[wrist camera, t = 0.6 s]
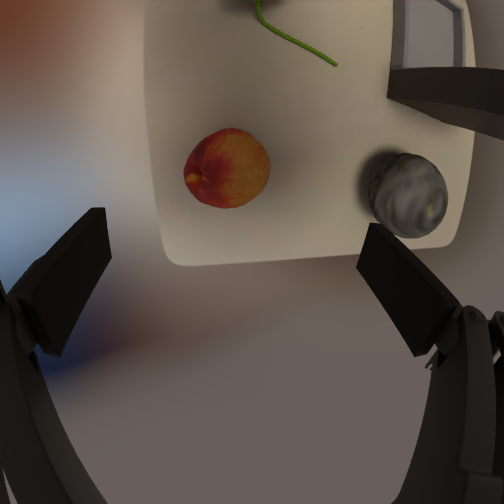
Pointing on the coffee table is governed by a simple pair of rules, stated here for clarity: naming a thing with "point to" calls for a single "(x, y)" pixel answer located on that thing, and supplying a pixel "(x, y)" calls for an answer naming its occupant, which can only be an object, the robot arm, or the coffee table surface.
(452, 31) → the tray with tall back
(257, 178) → the fruit
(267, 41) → the coffee table surface
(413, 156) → the decorative stone
